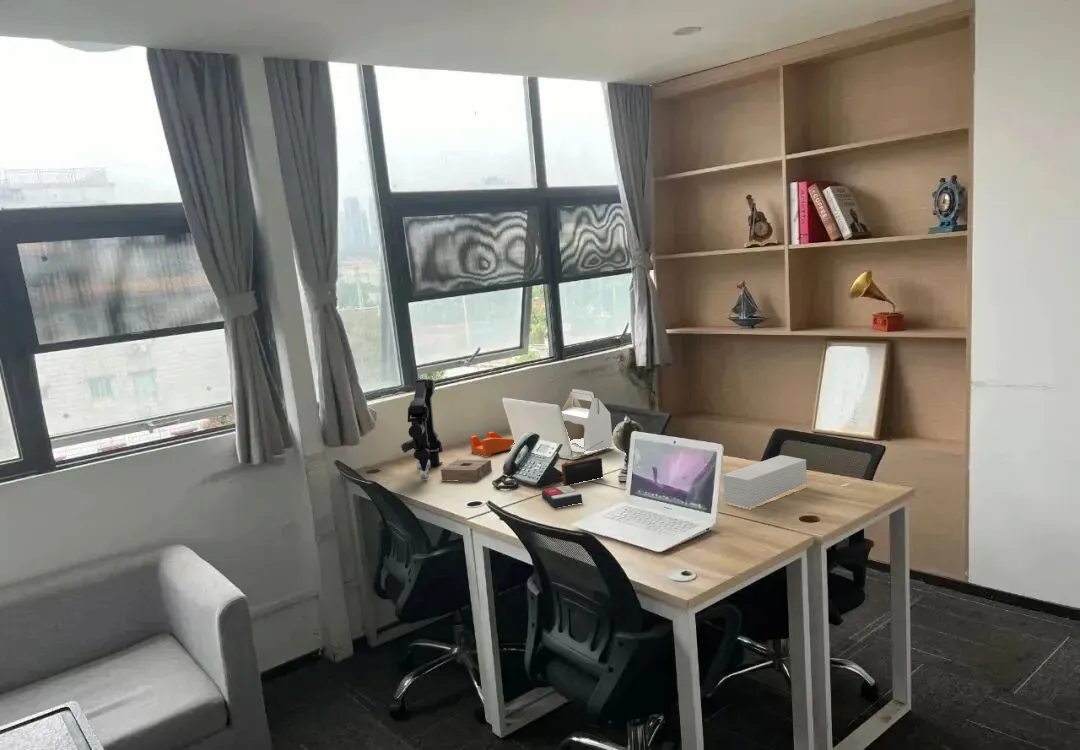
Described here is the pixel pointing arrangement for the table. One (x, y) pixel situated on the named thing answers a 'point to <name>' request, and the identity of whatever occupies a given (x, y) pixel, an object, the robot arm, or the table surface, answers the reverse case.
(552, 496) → the flat rectangular box
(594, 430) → the gable box
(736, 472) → the grey rectangular block
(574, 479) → the radio
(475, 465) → the walnut block
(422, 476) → the steel peg
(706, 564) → the table surface
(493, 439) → the tape dispenser
